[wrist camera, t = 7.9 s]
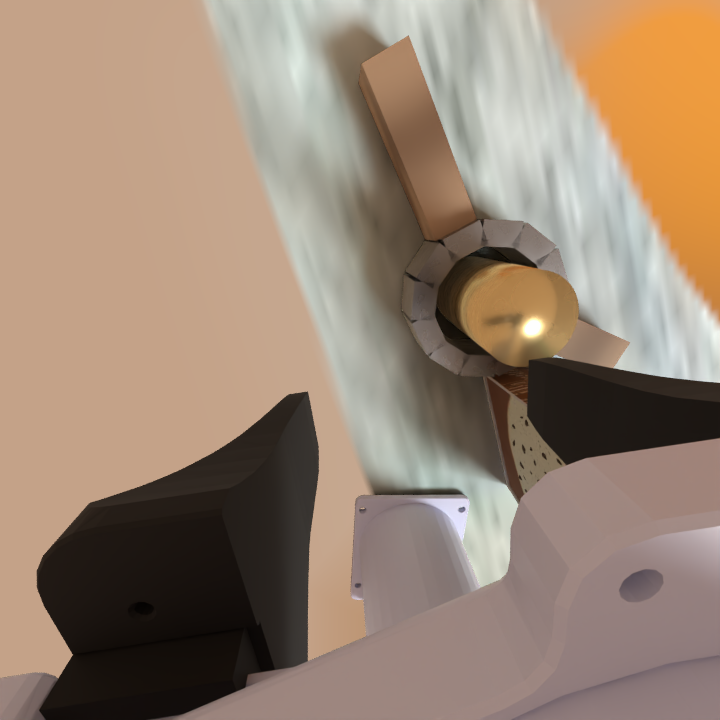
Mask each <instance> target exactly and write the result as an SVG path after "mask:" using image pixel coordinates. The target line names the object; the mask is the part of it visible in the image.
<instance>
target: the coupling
mask: <svg viewBox="0 0 720 720" xmlns="http://www.w3.org/2000/svg"><path fill="white" fill-rule="evenodd" d="M358 83H359V86H360V88H361V90H362V93H363V95H364V97H365V100H366V102H367V104H368V107H369V109H370V111H371V114H372V116H373V118H374V121H375V123H376V125H377V128H378V130H379V132H380V135H381V137H382V139H383V142H384V144H385V146H386V149H387V151H388V154H389V156H390V158H391V161H392V163H393V165H394V168H395V170H396V172H397V175H398V177H399V179H400V182H401V184H402V186H403V189H404V191H405V193H406V196H407V198H408V200H409V203H410V205H411V207H412V210H413V212H414V214H415V217H416V219H417V221H418V224H419V226H420V228H421V231H422V233H423V236H424V238H425V240H429V241H424V243H423V244H422V246H421V247H420V249H419V250H418V252H417V253H416V255H415V257H414V258H413V260H412V261H411V263H410V264H409V266H408V267H407V269H406V270H405V271H406V272H407V273H409V274H410V275H404V277H403V289H402V301H401V309H402V310H403V311H402V313H403V315H404V318H405V320H406V322H407V324H408V326H409V328H410V330H411V332H412V334H413V336H414V338H415V340H416V341H417V343H418V344H419V345H420V347H421V348H422V349H423V351H424V352H425V354H426V355H427V356H428V357H429V358H430V359H432V360H433V361H435V362H437V363H438V364H440V365H442V366H443V367H445V368H446V369H448V370H450V371H451V372H453V373H454V374H456V375H458V374H459V375H460V376H474V377H495V374H497V375H498V376H500V375H502V374H504V373H506V372H508V371H510V370H512V369H514V368H517V367H515V366H510V365H506V364H504V363H502V362H500V361H498V360H497V359H496V358H494V357H493V356H492V355H491V354H489V353H488V352H487V351H486V350H484V349H483V348H482V347H481V346H479V345H478V344H477V343H476V342H475V341H473V340H463V339H450V338H448V337H447V336H445V335H444V334H443V333H442V331H441V329H440V327H439V325H438V322H437V320H436V318H435V311H436V302H437V294H438V287H439V285H440V284H441V282H442V281H443V280H444V278H445V277H446V275H447V274H448V272H449V271H450V270H451V268H452V267H453V265H454V264H455V262H456V261H457V260H459V259H461V258H463V257H465V256H467V255H469V254H471V253H473V252H475V251H476V250H478V249H480V248H482V247H484V246H490V247H493V248H494V249H496V250H497V251H498V252H500V253H501V254H502V255H504V256H505V257H506V258H508V259H509V260H510V263H512V264H517V265H522V266H527V267H532V268H537V269H542V270H547V271H551V272H554V273H556V274H558V275H560V276H562V277H563V278H564V279H566V280H567V281H568V279H567V275H566V272H565V269H564V265H563V262H562V259H561V256H560V252H559V249H555V246H556V245H555V244H554V243H552V242H551V241H550V240H549V239H547V238H546V237H545V236H544V235H542V234H541V233H540V232H539V231H537V230H536V229H535V228H533V227H532V226H531V225H530V224H528V223H523V221H509V220H491V219H478V220H476V216H475V213H474V210H473V208H472V205H471V202H470V200H469V197H468V194H467V192H466V189H465V186H464V183H463V181H462V178H461V175H460V173H459V170H458V167H457V165H456V162H455V159H454V157H453V154H452V151H451V148H450V146H449V143H448V140H447V138H446V135H445V132H444V130H443V127H442V124H441V121H440V119H439V116H438V113H437V111H436V108H435V105H434V103H433V100H432V97H431V94H430V92H429V89H428V86H427V84H426V81H425V78H424V76H423V73H422V70H421V68H420V65H419V62H418V59H417V57H416V54H415V51H414V49H413V46H412V43H411V41H410V38H409V36H407V37H405V38H404V39H402V40H400V41H399V42H397V43H395V44H394V45H392V46H390V47H389V48H387V49H385V50H384V51H382V52H380V53H379V54H377V55H375V56H374V57H372V58H370V59H369V60H367V61H365V62H363V63H362V64H361V70H360V76H359V82H358ZM629 343H630V342H628V341H626V340H623V339H621V338H619V337H617V336H614V335H612V334H610V333H608V332H606V331H603V330H601V329H599V328H597V327H595V326H592V325H590V324H588V323H586V322H583V321H581V320H579V319H578V320H577V324H576V327H575V330H574V332H573V334H572V336H571V338H570V339H569V341H568V342H567V344H566V345H565V346H564V347H563V348H562V349H561V350H560V351H559V352H558V353H557V354H556V355H558V356H560V357H563V358H565V359H568V360H574V361H579V362H584V363H589V364H594V365H599V366H604V367H609V368H613V367H614V366H615V364H616V363H617V361H618V360H619V358H620V357H621V355H622V354H623V352H624V351H625V349H626V348H627V346H628V345H629Z"/></svg>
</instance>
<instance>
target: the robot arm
mask: <svg viewBox="0 0 720 720" xmlns="http://www.w3.org/2000/svg"><path fill="white" fill-rule="evenodd" d="M527 417H528V418H529V420H530V422H531V423H532V425H533V426H534V428H535V429H536V431H537V432H538V433H539V435H540V436H541V438H542V439H543V440H544V441H545V442H546V444H547V445H548V446H549V447H550V448H551V449H552V450H553V451H554V452H555V453H556V454H557V456H558V457H559V458H560V459H561V460H562V461H563V462H564V463H565V464H566V466H564V467H561V468H558V469H555V470H553V471H550V472H548V473H547V474H546V475H544V476H543V477H542V478H541V479H540V480H539V481H538V482H537V483H536V484H535V485H534V486H533V487H532V488H531V489H530V490H529V491H528V492H527V493H525V494H524V495H523V497H522V498H521V499H520V502H519V505H518V508H517V511H516V514H515V517H514V520H513V523H512V526H511V540H510V562H509V568H508V572H507V573H506V575H505V576H503V577H502V578H501V579H500V580H498V581H496V582H493V583H491V584H489V585H486V586H484V587H482V588H481V587H480V585H479V582H478V580H477V577H476V575H475V572H474V570H473V567H472V565H471V563H470V560H469V558H468V555H467V553H466V550H465V548H464V545H463V537H464V532H465V526H466V521H467V515H468V509H469V504H470V502H469V499H468V497H467V496H465V495H361V496H359V497H358V498H357V499H356V503H355V521H354V522H355V523H354V540H353V559H352V576H351V597H352V598H353V599H356V600H363V601H364V613H365V625H366V637H364V638H362V639H359V640H357V641H354V642H352V643H350V644H347V645H345V646H343V647H340V648H338V649H336V650H333V651H331V652H329V653H326V654H324V655H321V656H319V657H317V658H314V659H312V660H310V661H308V654H307V653H308V572H309V571H308V570H309V543H310V532H311V525H312V518H313V510H314V502H315V496H316V489H317V481H318V472H319V469H318V468H319V455H318V454H319V450H318V442H317V437H316V431H315V426H314V421H313V416H312V411H311V405H310V400H309V395H308V392H302V393H295V394H289V395H287V396H286V397H285V398H284V399H282V400H281V401H280V402H279V403H278V404H277V405H276V406H275V407H273V408H272V409H271V410H270V411H269V412H268V413H267V414H266V415H265V416H263V417H262V418H261V419H260V420H259V421H258V422H256V423H255V424H254V425H253V426H251V427H250V428H249V429H248V430H246V431H245V432H244V433H243V434H241V435H240V436H239V437H237V438H236V439H234V440H233V441H231V442H230V443H228V444H227V445H225V446H224V447H222V448H220V449H219V450H217V451H215V452H214V453H212V454H210V455H208V456H206V457H205V458H203V459H201V460H199V461H197V462H195V463H193V464H191V465H189V466H187V467H185V468H183V469H181V470H179V471H177V472H174V473H172V474H170V475H168V476H165V477H163V478H161V479H158V480H156V481H153V482H151V483H148V484H146V485H143V486H140V487H137V488H135V489H131V490H129V491H126V492H122V493H120V494H116V495H114V496H110V497H108V498H104V499H101V500H98V501H95V502H91V503H89V504H88V505H87V506H86V508H85V509H84V510H83V511H82V512H81V513H80V515H79V516H78V517H77V518H76V519H75V520H74V521H73V522H72V523H71V525H70V526H69V527H68V528H67V529H66V530H65V531H64V533H63V534H62V535H61V536H60V537H59V539H57V541H56V542H55V543H54V544H53V545H52V546H51V547H50V549H49V550H48V551H47V552H46V553H45V554H44V555H43V557H42V560H41V562H40V565H39V567H38V569H37V589H38V592H39V594H40V597H41V599H42V602H43V604H44V607H45V608H46V610H47V612H48V613H49V615H50V617H51V618H52V620H53V622H54V624H55V625H56V627H57V629H58V630H59V632H60V634H61V635H62V637H63V639H64V640H65V642H66V644H67V645H68V647H69V649H70V651H71V652H72V654H73V656H72V657H71V659H70V661H69V662H68V664H67V665H66V667H65V669H64V670H63V672H62V674H61V675H60V677H59V678H56V677H55V676H53V675H50V674H47V673H28V674H22V675H16V676H9V677H3V678H0V720H720V383H714V382H702V381H693V380H684V379H675V378H667V377H660V376H653V375H647V374H641V373H635V372H630V371H624V370H619V369H614V368H609V367H604V366H599V365H594V364H589V363H584V362H579V361H574V360H568V359H562V358H552V357H546V358H539V359H532V360H529V366H528V397H527ZM363 507H364V508H365V509H363V510H362V509H360V508H363ZM460 507H463V508H461V509H459V508H460Z"/></svg>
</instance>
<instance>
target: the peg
mask: <svg viewBox="0 0 720 720" xmlns="http://www.w3.org/2000/svg"><path fill="white" fill-rule="evenodd" d="M436 303H437V306H438V308H439V310H440V312H441V314H442V315H443V316H444V317H445V318H446V319H447V320H448V321H450V322H451V323H452V324H453V325H455V326H456V327H457V328H458V329H460V330H461V331H462V332H463V333H465V334H466V335H467V336H468V337H470V338H471V339H472V340H473V341H475V342H476V343H477V344H478V345H479V346H481V347H482V348H483V349H484V350H486V351H487V352H488V353H489V354H491V355H492V356H493V357H494V358H496V359H497V360H498V361H500V362H502V363H504V364H506V365H510V366H515V367H528V366H529V360H532V359H539V358H546V357H553V356H554V355H556V354H557V353H558V352H559V351H560V350H561V349H562V348H563V347H564V346H565V345H566V344H567V342H568V341H569V339H570V338H571V336H572V334H573V332H574V330H575V327H576V324H577V320H578V313H579V306H578V300H577V296H576V293H575V291H574V289H573V288H572V286H571V285H570V283H569V282H568V281H567V280H566V279H564V278H563V277H562V276H560V275H558V274H556V273H554V272H551V271H547V270H542V269H537V268H532V267H527V266H522V265H517V264H512V263H507V262H502V261H497V260H492V259H487V258H482V257H473V256H472V257H465V258H462V259H459V260H457V261H456V262H455V264H454V265H453V267H452V268H451V270H450V271H449V272H448V274H447V275H446V277H445V278H444V280H443V281H442V282H441V284H440V285H439V287H438V294H437V302H436Z"/></svg>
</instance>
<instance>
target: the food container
mask: <svg viewBox="0 0 720 720" xmlns="http://www.w3.org/2000/svg"><path fill="white" fill-rule="evenodd" d="M483 380H484V384H485V389H486V393H487V398H488V403H489V407H490V412H491V416H492V421H493V425H494V430H495V434H496V439H497V444H498V448H499V453H500V457H501V462H502V466H503V471H504V475H505V480H506V484H507V487H508V488H509V490H510V491H511V493H512V495H513V496H514V498H515V499H516V501H517V503H518V504H519V502H520V499H521V498H522V497H523V495H524V494H525V493H527V492H528V491H529V490H530V489H531V488H532V487H533V486H534V485H535V484H536V483H537V482H538V481H539V480H540V479H541V478H542V477H543V476H544V475H546V474H547V473H548V472H550V471H553V470H555V469H558V468H561V467H564V466H566V464H565V463H564V462H563V461H562V460H561V459H560V458H559V457H558V456H557V454H556V453H555V452H554V451H553V450H552V449H551V448H550V447H549V446H548V445H547V444H546V442H545V441H544V440H543V439H542V438H541V436H540V435H539V433H538V432H537V431H536V429H535V428H534V426H533V425H532V423H531V422H530V420H529V418H528V417H527V397H528V368H527V367H517V368H514V369H512V370H510V371H508V372H506V373H504V374H502V375H500V376H498V375H497V374H495V377H483Z"/></svg>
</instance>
